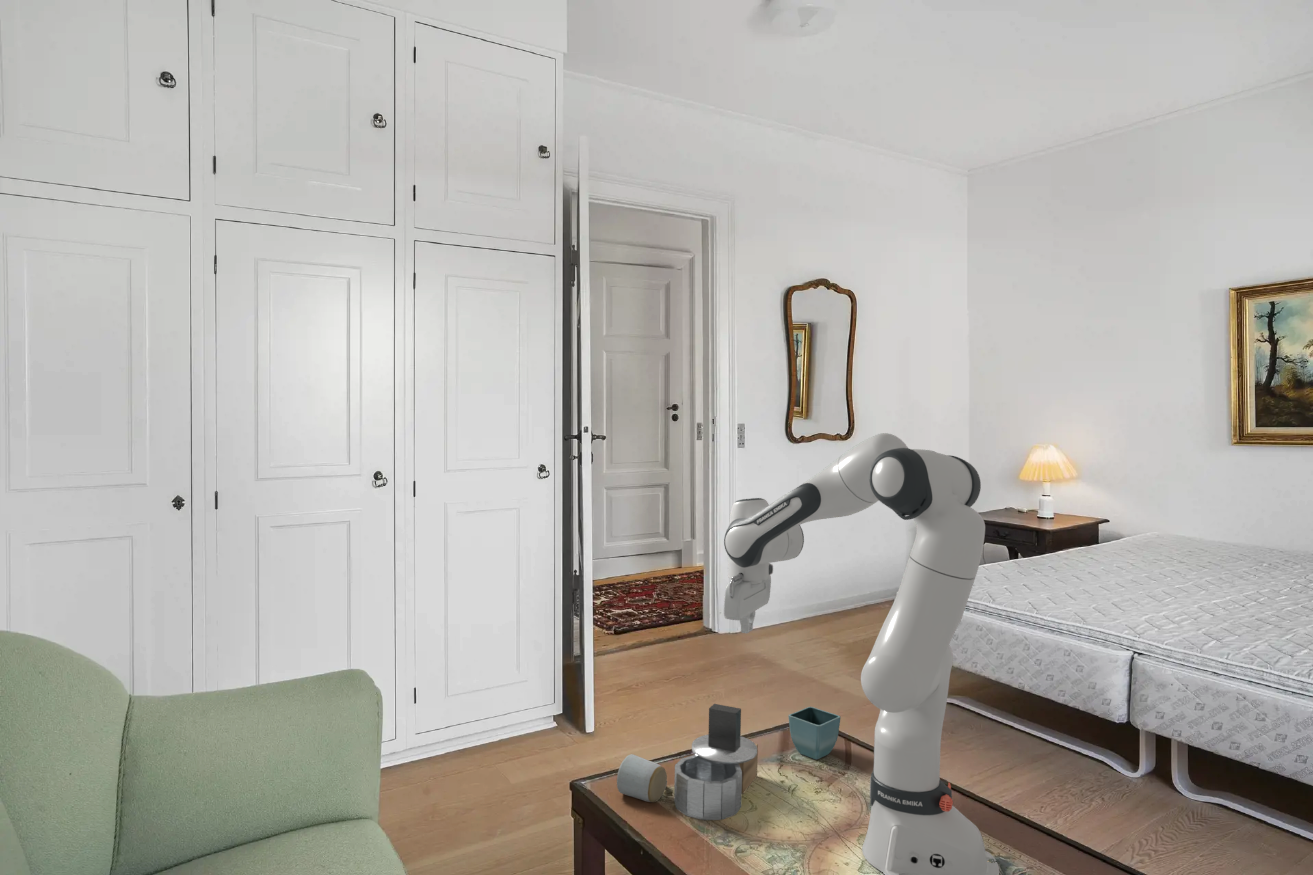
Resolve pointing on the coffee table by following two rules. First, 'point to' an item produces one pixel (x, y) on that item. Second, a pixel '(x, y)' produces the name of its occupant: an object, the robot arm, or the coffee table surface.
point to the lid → (724, 738)
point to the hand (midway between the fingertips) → (746, 631)
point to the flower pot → (814, 731)
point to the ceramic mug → (641, 778)
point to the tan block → (749, 772)
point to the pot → (707, 788)
